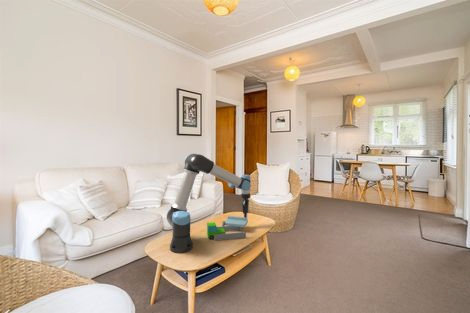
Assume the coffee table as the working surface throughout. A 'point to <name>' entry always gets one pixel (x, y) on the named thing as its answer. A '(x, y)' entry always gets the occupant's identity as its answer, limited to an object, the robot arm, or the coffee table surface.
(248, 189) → the robot arm
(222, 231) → the toy car
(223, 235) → the grey long bars
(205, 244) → the coffee table surface
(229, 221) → the cover
